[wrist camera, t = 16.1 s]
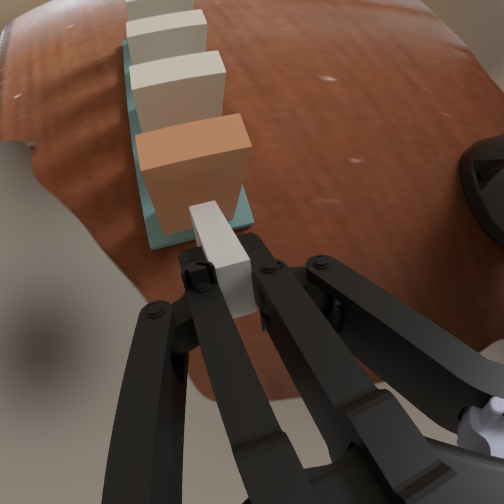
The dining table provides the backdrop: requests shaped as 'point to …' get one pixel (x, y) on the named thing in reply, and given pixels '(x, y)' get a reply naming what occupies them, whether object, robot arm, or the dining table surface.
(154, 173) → the terracotta domino
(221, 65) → the domino
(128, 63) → the domino board
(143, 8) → the domino
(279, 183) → the dining table surface
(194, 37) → the domino
